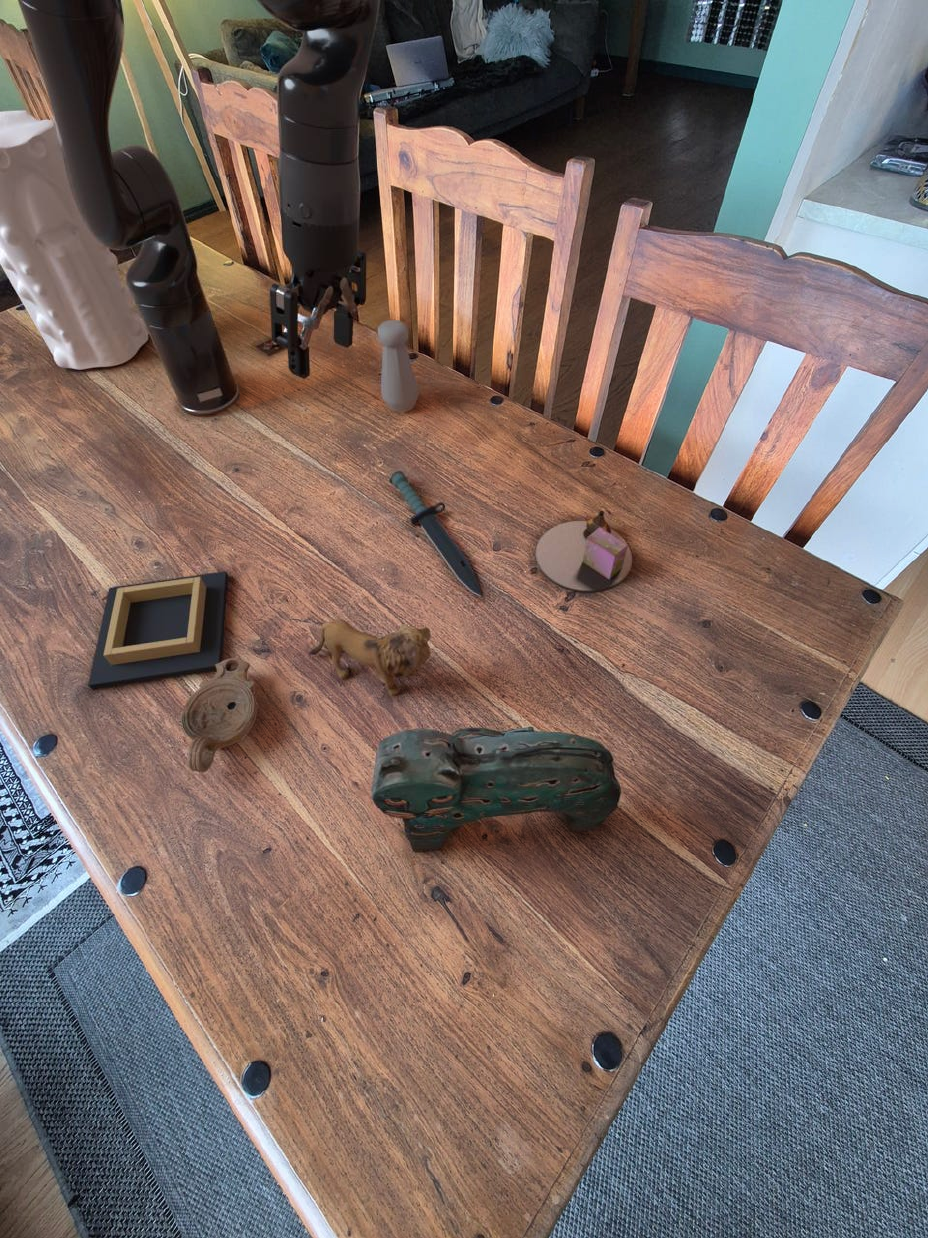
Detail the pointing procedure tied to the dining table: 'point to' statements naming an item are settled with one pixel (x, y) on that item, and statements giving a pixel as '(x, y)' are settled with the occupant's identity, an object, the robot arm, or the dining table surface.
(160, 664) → the pad
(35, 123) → the vase
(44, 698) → the dining table surface
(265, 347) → the diorama
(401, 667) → the lion figurine
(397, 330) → the salt shaker
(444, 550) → the knife
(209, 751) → the oil lamp
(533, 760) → the ceramic cat
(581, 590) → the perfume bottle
